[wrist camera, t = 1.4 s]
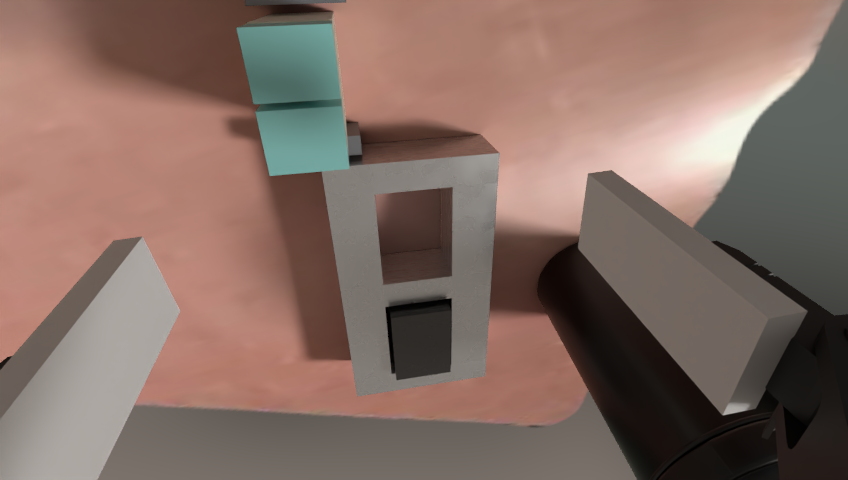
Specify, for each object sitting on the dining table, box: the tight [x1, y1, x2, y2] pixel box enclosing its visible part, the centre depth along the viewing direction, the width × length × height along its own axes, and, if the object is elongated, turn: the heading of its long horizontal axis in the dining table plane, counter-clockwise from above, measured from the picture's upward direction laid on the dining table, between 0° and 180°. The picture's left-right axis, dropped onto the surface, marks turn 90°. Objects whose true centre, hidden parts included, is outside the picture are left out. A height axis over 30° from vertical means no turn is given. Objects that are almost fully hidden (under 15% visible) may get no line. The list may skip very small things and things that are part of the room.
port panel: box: [322, 135, 500, 396], centre depth 32 cm, size 20×11×5 cm, turn 2°
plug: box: [236, 11, 349, 176], centre depth 22 cm, size 6×4×10 cm, turn 2°
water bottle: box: [537, 243, 779, 480], centre depth 29 cm, size 10×10×23 cm
